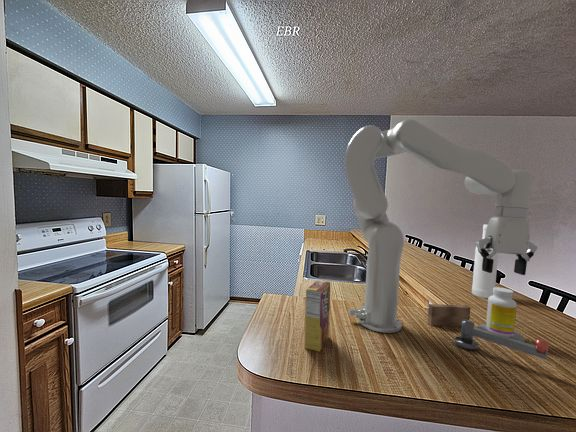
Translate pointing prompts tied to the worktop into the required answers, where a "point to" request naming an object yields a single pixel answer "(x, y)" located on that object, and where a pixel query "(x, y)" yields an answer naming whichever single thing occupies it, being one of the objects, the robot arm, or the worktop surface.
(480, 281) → the bottle
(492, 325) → the supplement bottle
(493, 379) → the worktop surface
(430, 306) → the wooden plank block
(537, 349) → the lever
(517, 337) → the coaster
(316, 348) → the candy box
